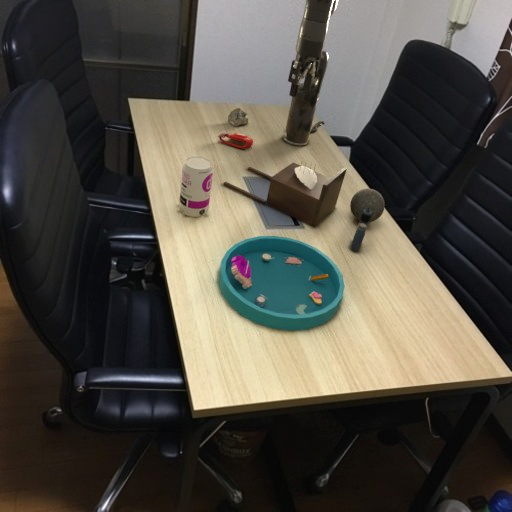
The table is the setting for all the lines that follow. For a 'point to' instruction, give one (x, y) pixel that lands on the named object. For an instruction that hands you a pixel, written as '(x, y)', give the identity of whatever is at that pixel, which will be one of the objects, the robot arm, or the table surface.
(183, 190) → the supplement can
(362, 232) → the vaping device
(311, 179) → the pincushion
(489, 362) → the table surface
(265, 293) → the round teal tray
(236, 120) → the grey brown rock
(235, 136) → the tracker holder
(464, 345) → the table surface
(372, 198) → the decorative ball
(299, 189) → the box with long handles
